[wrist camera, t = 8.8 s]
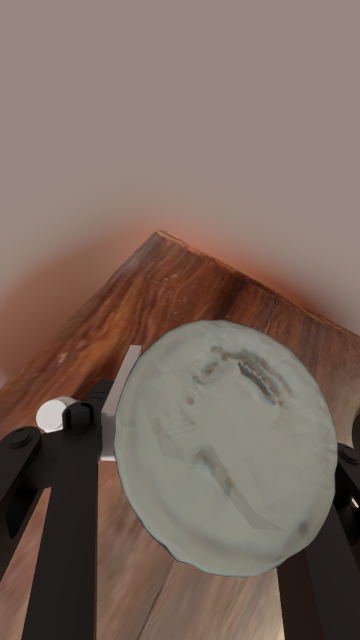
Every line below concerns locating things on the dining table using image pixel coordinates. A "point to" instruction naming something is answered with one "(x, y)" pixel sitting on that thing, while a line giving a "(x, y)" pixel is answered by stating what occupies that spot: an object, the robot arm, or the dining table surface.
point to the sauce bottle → (225, 448)
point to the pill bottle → (53, 413)
